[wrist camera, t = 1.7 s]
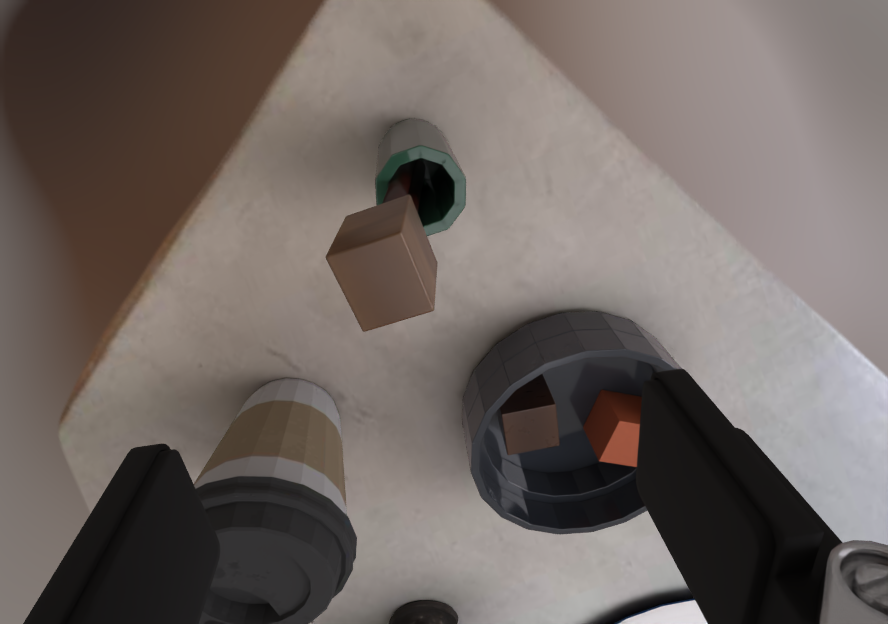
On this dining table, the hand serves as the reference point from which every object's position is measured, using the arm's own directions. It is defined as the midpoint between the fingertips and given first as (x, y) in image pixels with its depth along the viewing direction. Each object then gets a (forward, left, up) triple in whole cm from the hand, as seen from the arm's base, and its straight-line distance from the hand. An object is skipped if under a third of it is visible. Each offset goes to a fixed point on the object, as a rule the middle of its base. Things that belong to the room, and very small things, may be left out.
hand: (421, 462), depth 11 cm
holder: (-1, -1, -27) cm, 27 cm away
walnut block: (-9, +18, -26) cm, 33 cm away
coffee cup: (+9, +19, -27) cm, 34 cm away
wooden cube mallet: (-1, -1, -26) cm, 26 cm away
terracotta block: (-17, +20, -26) cm, 37 cm away
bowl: (-13, +19, -27) cm, 36 cm away
